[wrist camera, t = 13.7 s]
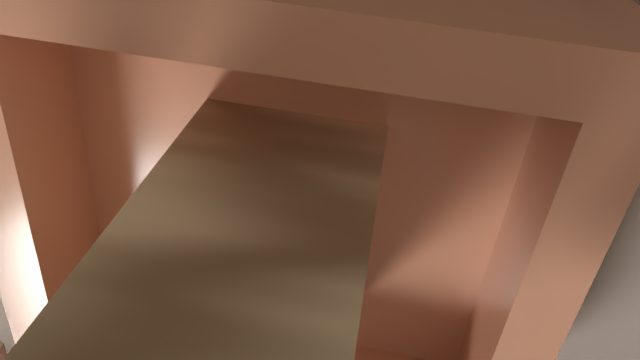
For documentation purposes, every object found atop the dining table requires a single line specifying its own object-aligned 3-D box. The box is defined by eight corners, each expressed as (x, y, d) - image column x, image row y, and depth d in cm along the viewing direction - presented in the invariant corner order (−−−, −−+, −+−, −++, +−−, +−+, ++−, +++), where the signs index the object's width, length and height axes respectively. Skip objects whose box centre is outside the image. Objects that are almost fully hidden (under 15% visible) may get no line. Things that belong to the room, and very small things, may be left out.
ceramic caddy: (628, -5, 11) (698, 61, 8) (485, 371, 17) (495, 485, 14) (24, -85, 12) (-104, -52, 9) (92, 296, 18) (28, 387, 15)
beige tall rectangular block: (387, 126, 12) (316, 615, 5) (359, 295, 15) (284, 772, 8) (207, 98, 13) (-117, 513, 5) (210, 268, 15) (2, 698, 8)
